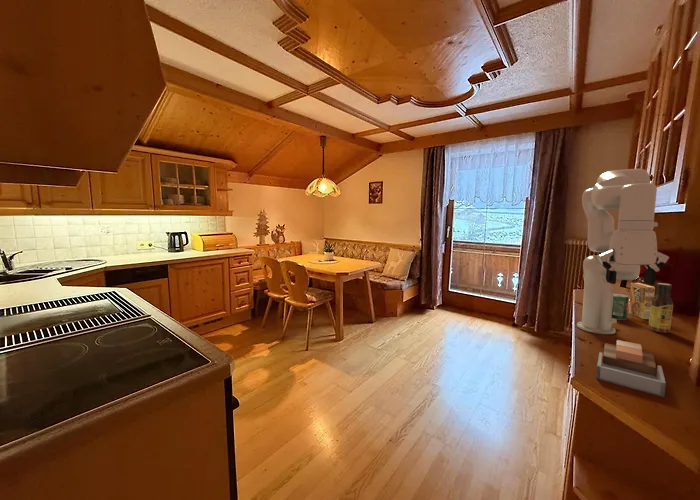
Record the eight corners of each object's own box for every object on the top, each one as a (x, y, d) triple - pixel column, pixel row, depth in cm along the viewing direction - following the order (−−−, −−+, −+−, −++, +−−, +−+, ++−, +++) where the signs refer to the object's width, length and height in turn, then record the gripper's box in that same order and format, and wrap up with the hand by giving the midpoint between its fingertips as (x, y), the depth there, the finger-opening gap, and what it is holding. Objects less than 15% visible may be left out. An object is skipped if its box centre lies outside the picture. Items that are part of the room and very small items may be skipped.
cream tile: (616, 346, 102) (616, 339, 102) (640, 351, 98) (641, 344, 98) (615, 351, 99) (616, 344, 98) (641, 357, 95) (641, 349, 94)
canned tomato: (599, 314, 144) (601, 292, 142) (616, 314, 143) (618, 292, 142) (613, 320, 136) (615, 296, 134) (631, 320, 135) (633, 296, 134)
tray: (598, 363, 97) (599, 352, 97) (660, 378, 88) (661, 366, 87) (596, 378, 88) (597, 366, 88) (664, 397, 79) (665, 383, 78)
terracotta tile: (615, 352, 98) (616, 345, 98) (641, 357, 94) (641, 350, 94) (615, 357, 95) (616, 350, 94) (641, 363, 91) (642, 355, 90)
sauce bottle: (662, 334, 119) (667, 286, 117) (644, 328, 125) (648, 282, 123) (674, 332, 120) (679, 285, 118) (656, 327, 126) (660, 281, 124)
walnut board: (604, 350, 106) (604, 342, 105) (652, 361, 98) (652, 352, 97) (602, 364, 96) (603, 355, 96) (655, 377, 88) (656, 368, 88)
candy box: (652, 319, 135) (656, 287, 134) (642, 319, 136) (645, 286, 134) (637, 313, 144) (640, 282, 142) (627, 313, 145) (630, 282, 143)
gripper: (660, 225, 88) (654, 281, 90) (593, 226, 92) (589, 280, 94) (682, 226, 81) (675, 287, 83) (608, 227, 85) (603, 285, 87)
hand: (629, 283), depth 89 cm, fingers open, 9 cm apart
